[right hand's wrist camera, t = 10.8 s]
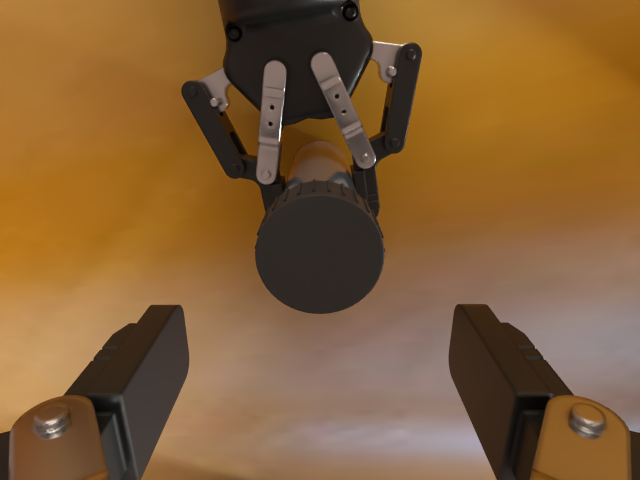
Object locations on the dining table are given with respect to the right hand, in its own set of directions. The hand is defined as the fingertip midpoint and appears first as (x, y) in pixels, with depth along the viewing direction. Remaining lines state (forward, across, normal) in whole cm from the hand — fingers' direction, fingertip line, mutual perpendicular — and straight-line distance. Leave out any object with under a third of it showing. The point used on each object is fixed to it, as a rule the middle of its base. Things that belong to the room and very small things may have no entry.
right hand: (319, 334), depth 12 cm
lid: (+6, 0, 0) cm, 6 cm away
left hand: (+16, 0, -3) cm, 17 cm away
